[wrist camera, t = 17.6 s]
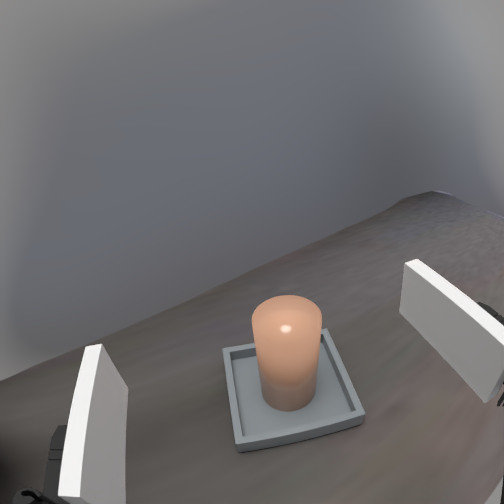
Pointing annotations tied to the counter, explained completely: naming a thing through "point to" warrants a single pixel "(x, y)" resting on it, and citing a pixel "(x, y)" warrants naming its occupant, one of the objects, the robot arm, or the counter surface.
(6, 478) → the counter surface
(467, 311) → the robot arm
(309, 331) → the light orange tall cylinder
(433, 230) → the counter surface
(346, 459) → the counter surface
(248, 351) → the grey tray
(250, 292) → the counter surface
